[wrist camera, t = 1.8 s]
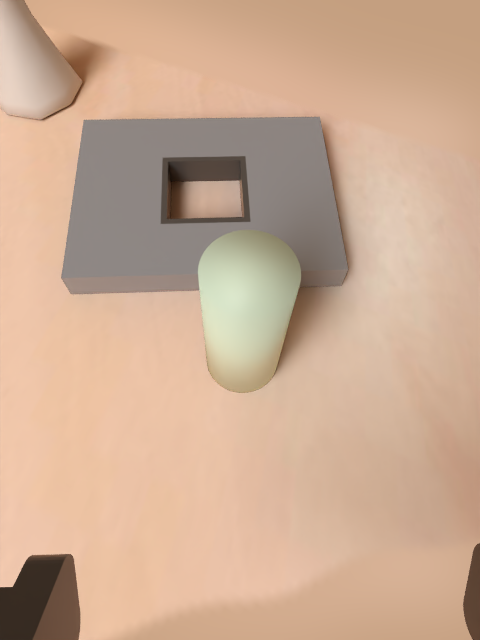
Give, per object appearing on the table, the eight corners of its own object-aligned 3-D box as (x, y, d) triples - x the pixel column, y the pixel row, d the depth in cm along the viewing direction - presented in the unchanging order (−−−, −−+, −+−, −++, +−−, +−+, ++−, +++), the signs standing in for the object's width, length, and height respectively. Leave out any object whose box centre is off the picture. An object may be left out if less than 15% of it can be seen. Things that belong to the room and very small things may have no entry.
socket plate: (315, 137, 37) (319, 116, 35) (341, 285, 31) (348, 269, 29) (90, 141, 36) (83, 120, 35) (71, 294, 30) (61, 278, 28)
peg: (274, 325, 29) (295, 228, 21) (280, 391, 28) (306, 315, 19) (205, 327, 29) (197, 231, 20) (207, 394, 27) (198, 319, 18)
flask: (-26, 101, 38) (-103, -36, 29) (32, 54, 41) (-21, -84, 32) (43, 133, 37) (-16, -1, 28) (98, 82, 40) (61, -54, 31)
